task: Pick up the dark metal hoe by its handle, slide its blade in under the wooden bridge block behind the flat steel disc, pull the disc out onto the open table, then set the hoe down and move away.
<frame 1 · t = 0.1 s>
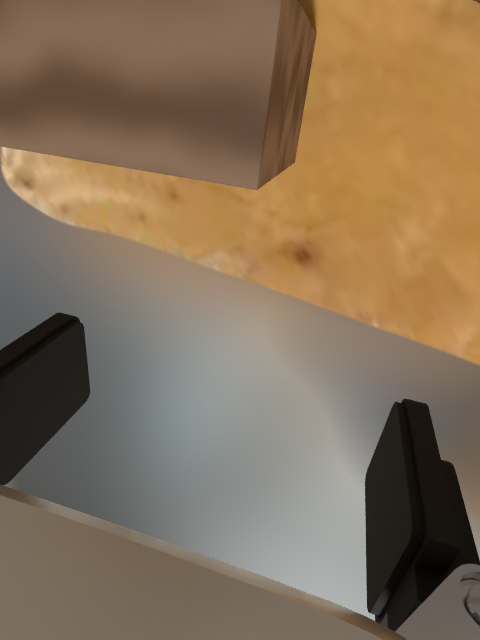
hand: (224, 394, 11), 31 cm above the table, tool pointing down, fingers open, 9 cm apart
wooden bridge block: (198, 89, 37), on the table
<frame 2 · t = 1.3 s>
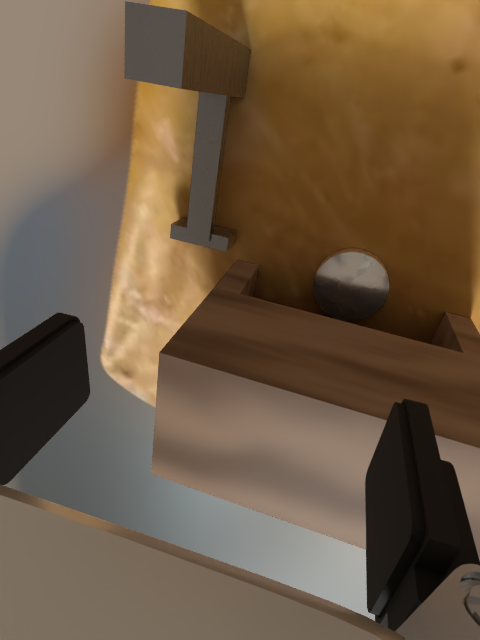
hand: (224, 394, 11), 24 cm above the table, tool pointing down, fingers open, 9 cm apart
steel token: (350, 281, 33), on the table
wooden bridge block: (332, 336, 36), on the table
hoe: (227, 71, 29), on the table
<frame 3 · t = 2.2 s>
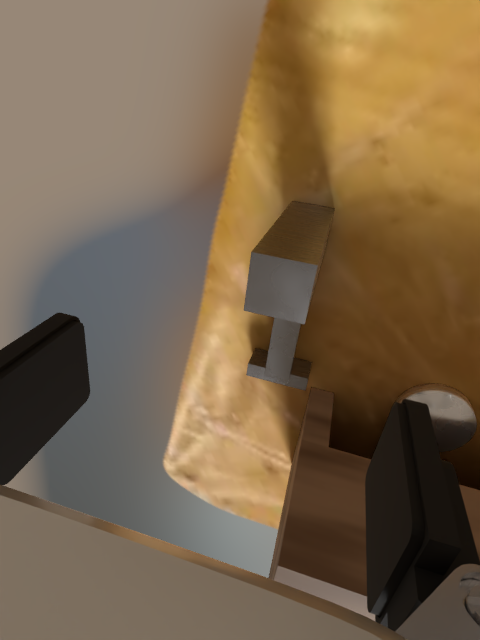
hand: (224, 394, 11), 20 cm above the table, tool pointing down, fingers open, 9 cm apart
steel token: (431, 411, 33), on the table
wooden bridge block: (410, 459, 35), on the table
hoe: (309, 225, 28), on the table
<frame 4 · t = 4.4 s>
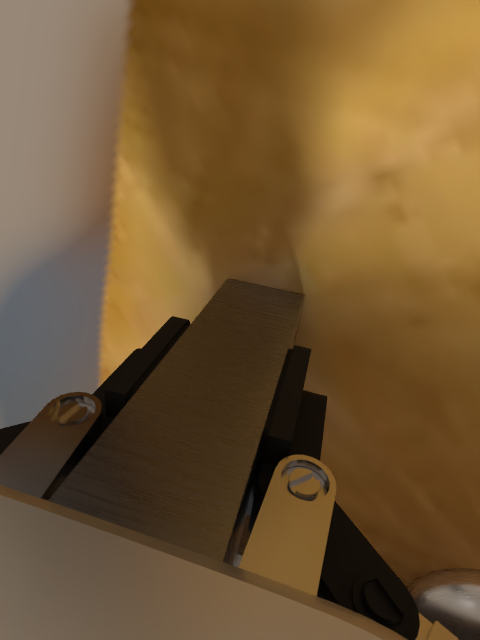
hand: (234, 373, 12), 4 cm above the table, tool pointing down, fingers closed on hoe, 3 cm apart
steel token: (469, 601, 20), on the table
hoe: (260, 320, 16), on the table, touching gripper
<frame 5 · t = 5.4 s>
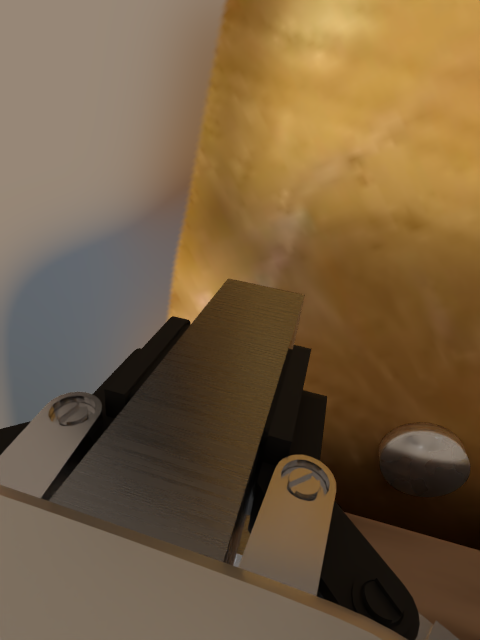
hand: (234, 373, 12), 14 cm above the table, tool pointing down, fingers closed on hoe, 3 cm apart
steel token: (420, 451, 30), on the table
wooden bridge block: (398, 502, 32), on the table
hoe: (260, 320, 16), point 11 cm above the table, touching gripper
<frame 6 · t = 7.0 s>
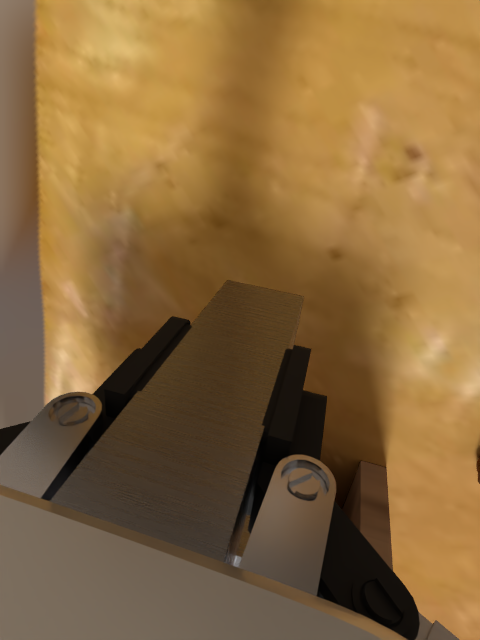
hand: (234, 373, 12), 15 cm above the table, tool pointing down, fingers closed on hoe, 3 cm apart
wooden bridge block: (257, 472, 36), on the table
hoe: (259, 322, 16), point 11 cm above the table, touching gripper
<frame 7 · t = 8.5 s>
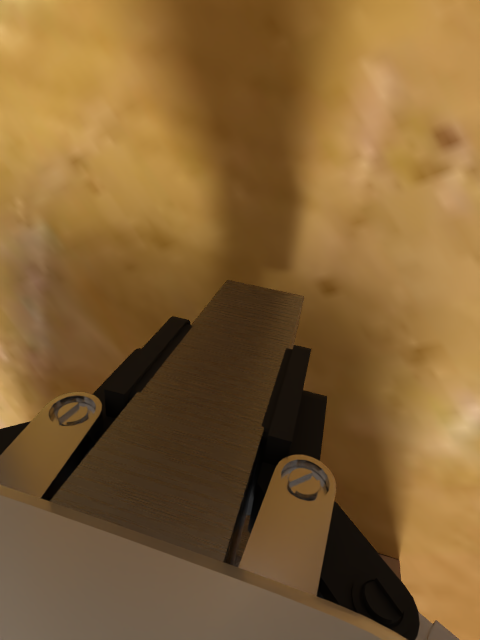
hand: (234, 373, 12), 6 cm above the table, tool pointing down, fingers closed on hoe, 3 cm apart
hoe: (259, 322, 16), point 3 cm above the table, touching gripper
when the fingers open (4 cm above the table, at t = 15.0 s): hoe stays where it is, on the table.
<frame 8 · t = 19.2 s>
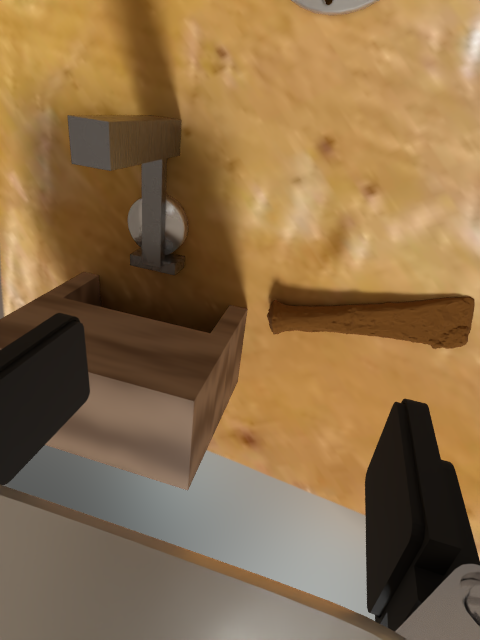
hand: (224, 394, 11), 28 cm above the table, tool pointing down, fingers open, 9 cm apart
steel token: (161, 222, 41), on the table
primitive tool: (368, 311, 40), on the table
wooden bridge block: (161, 327, 47), on the table
hoe: (165, 135, 36), on the table
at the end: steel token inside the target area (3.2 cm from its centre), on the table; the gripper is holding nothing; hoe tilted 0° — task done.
